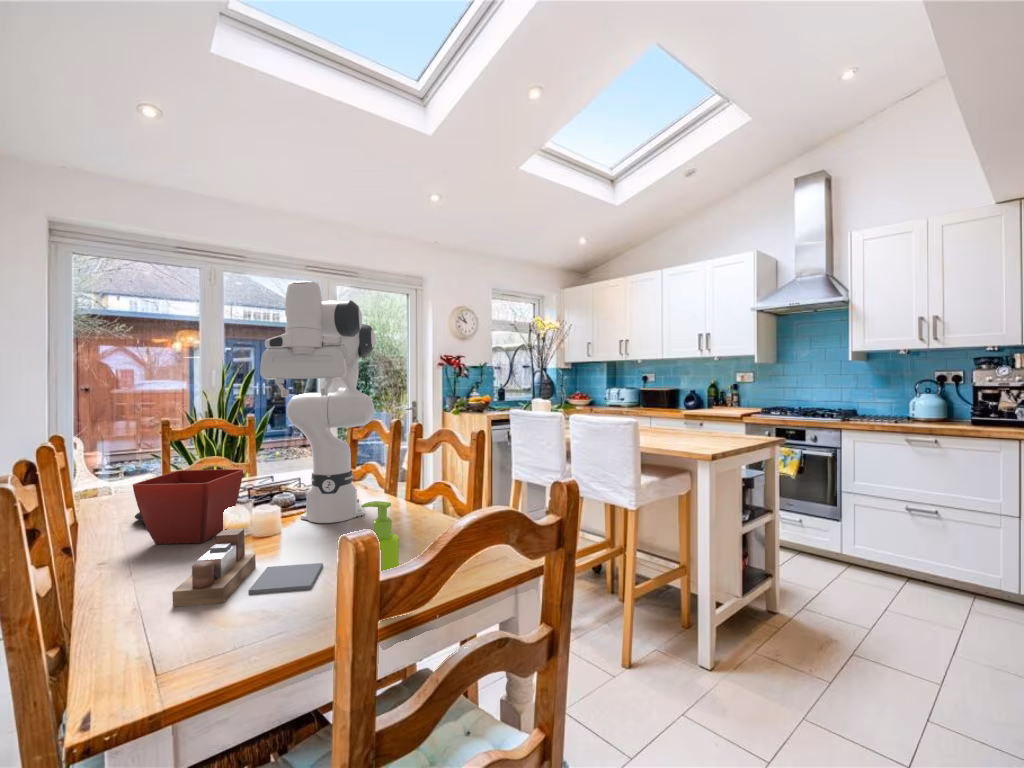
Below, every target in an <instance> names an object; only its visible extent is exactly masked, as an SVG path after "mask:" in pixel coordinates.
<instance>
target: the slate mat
mask: <svg viewBox="0 0 1024 768" xmlns="http://www.w3.org/2000/svg"><path fill="white" fill-rule="evenodd" d="M323 567H324V562H318V563H316V562H315V563H304V564H288V565H287V564H286V565H275V566H267V567H265V569H264V570H263V572H262V573H261V574H260V576H258V578H257V579H256V581H254V583H253V584H252V585H251V586H250V588H249V589H248V595H256V594H266V593H267V594H268V593H278V592H279V593H281V591H282V592H291V591H293V590H294V591H305V590H312V588H313V587H314V584H315V582H316V581H317V578H318V577H319V575H320V573H321V571H322V569H323Z"/></svg>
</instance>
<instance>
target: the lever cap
mask: <svg viewBox="0 0 1024 768" xmlns="http://www.w3.org/2000/svg"><path fill="white" fill-rule="evenodd" d="M205 561H212V562H213V563H214V574H218V578H222V577H223V576H224V575H225V574H226V573H227V572H228V571H229V570H230V569H231V568H232V567H233V566H234V565H235V564H236V545H231V544H216V543H215V544H214V545H212V546H211V547H210V548H209V550H208V551H206V553H204V554H203V555H202V556H201V557H200V558H198V559H197V560H196V562H197V563H200V562H205ZM197 563H196V564H197Z"/></svg>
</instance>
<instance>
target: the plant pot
mask: <svg viewBox="0 0 1024 768" xmlns="http://www.w3.org/2000/svg"><path fill="white" fill-rule="evenodd" d="M243 472H244V469H241V468H239V469H238V468H237V469H236V468H234V469H233V468H231V469H228V468H227V469H225V468H224V469H184V470H181V469H180V470H176V471H172V472H170V473H165V474H163V475H158V476H155V477H153V478H149V479H146V480H142V481H138V482H135V483H133V484H132V489H133V495H134V498H135V501H136V502H135V503H136V505H137V507H138V512H140V514H141V517H142V519H143V521H142V522H143V524H144V526H145V528H146V529H147V532H148V534H149V537H151V539H152V541H153V543H154V544H157V545H162V544H163V545H166V544H170V545H171V543H172V544H200V543H204V542H206V541H208V540H210V539H212V538H214V537H216V535H218V534H219V533H220V532H221V531H223V512H224V510H225V509H227V508H228V507H232V506H235V507H236V506H237V503H238V498H239V494H240V489H241V485H242V481H243V476H244V475H243V474H244V473H243Z"/></svg>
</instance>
